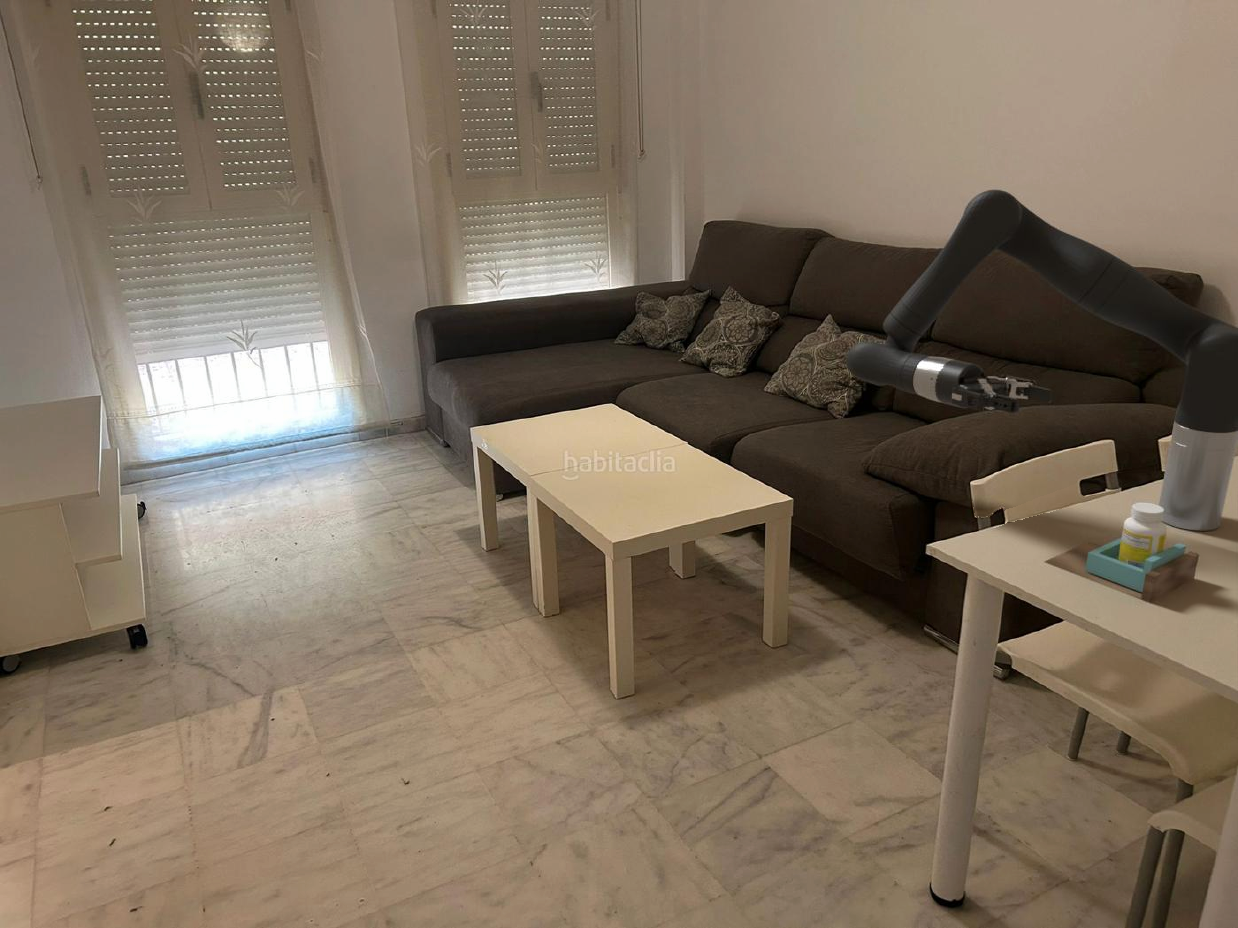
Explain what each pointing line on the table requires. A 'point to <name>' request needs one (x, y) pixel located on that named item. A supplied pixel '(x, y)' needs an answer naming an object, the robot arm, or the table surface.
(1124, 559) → the supplement bottle
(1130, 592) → the walnut board
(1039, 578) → the table surface
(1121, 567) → the teal open tray
